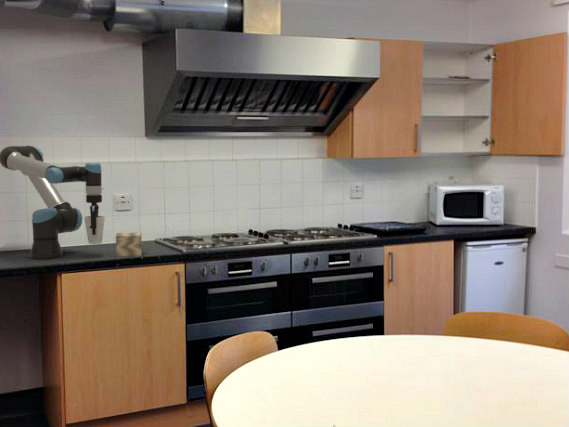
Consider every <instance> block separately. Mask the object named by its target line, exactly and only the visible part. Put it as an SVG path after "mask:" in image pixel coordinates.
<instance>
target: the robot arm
mask: <svg viewBox="0 0 569 427" xmlns="http://www.w3.org/2000/svg"><path fill="white" fill-rule="evenodd" d="M44 161H45V160H44V154H43V152H42V151H41V149H40V148H39V147H37V146H34V145H23V146H22V145H11V146H10V145H9V146H6V147H4V148H3V149H1V151H0V165H1V166H2V167H4V169H7V170H10V171H20V172H21V173H22V175H24V176H27V177H28V179H29V180H30V182H31V184H32V185H33V187H34V188H35V190H36V191H37V193H38V195H39V196H40V198H41V199H42V201H43V202H44V204H45V205H46V208H40V209H37V210H35V211H33V212H32V215H31V216H32V217H31V222H32V245H31V249H30V251H29V252H30V253H29V258H30V259H36V260H37V259H39V260H44V259H45V260H47V259H57V258H60V257H63V248H62V247H61V244H60V241H59V234H64V233H65V234H66V233H72V232H76V231H78V230H79V229H80V228H81V226H82V223H83V214H82V212H81V210H80V209H78V208H76V207H72V205H71V203H70V202H69V201H65V200H64V199H63V196H62V195H61V194H60V192H59V191H58V189H57V187H56V186H55V185H54V184H64V183H81V182H82V183H83V182H84V183H85V194H86V195H85V202H86V203H88V204H91V205H90V206H89V211H90V213H89V214H90V216H91V227H90V228H91V241H97V226H96V225H97V223H96V218H98V216H99V208H100V206H99V204H101V203H102V202H103V195H102V193H103V192H102V190H104V188H103V186H102V185H103V184H102V165H101V163H100V162H86V163H85V166H80V165H79V166H77V165H72V166H71V165H70V166H58V165H57V166H56V165H54V164H50V163H48V162H44Z"/></svg>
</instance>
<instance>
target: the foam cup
mask: <svg viewBox="0 0 569 427" xmlns="http://www.w3.org/2000/svg"><path fill="white" fill-rule="evenodd" d="M105 218H106V217H105V216H104V215H98V218H96V223H97V225H96V226H97V241H91V228H90V227H91V215H87V216H85V217H84V223H85V224H84V225H85V229H86V236H87V241H88V244H89V245H98V244H99V245H101V244H102V243H103V237H104V236H103V234H104V226H105V221H106V220H105Z"/></svg>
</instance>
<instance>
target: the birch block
mask: <svg viewBox="0 0 569 427" xmlns="http://www.w3.org/2000/svg"><path fill="white" fill-rule="evenodd" d="M142 242H143V239H142V232H120V233H119V232H117V233H116V235H115V249H116V250H115V251H116V253H115V255H116V257H117V258H118V257H120V258H121V257H139V256H140V257H141V256H142V254H143V246H142V245H143V244H142Z"/></svg>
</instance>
